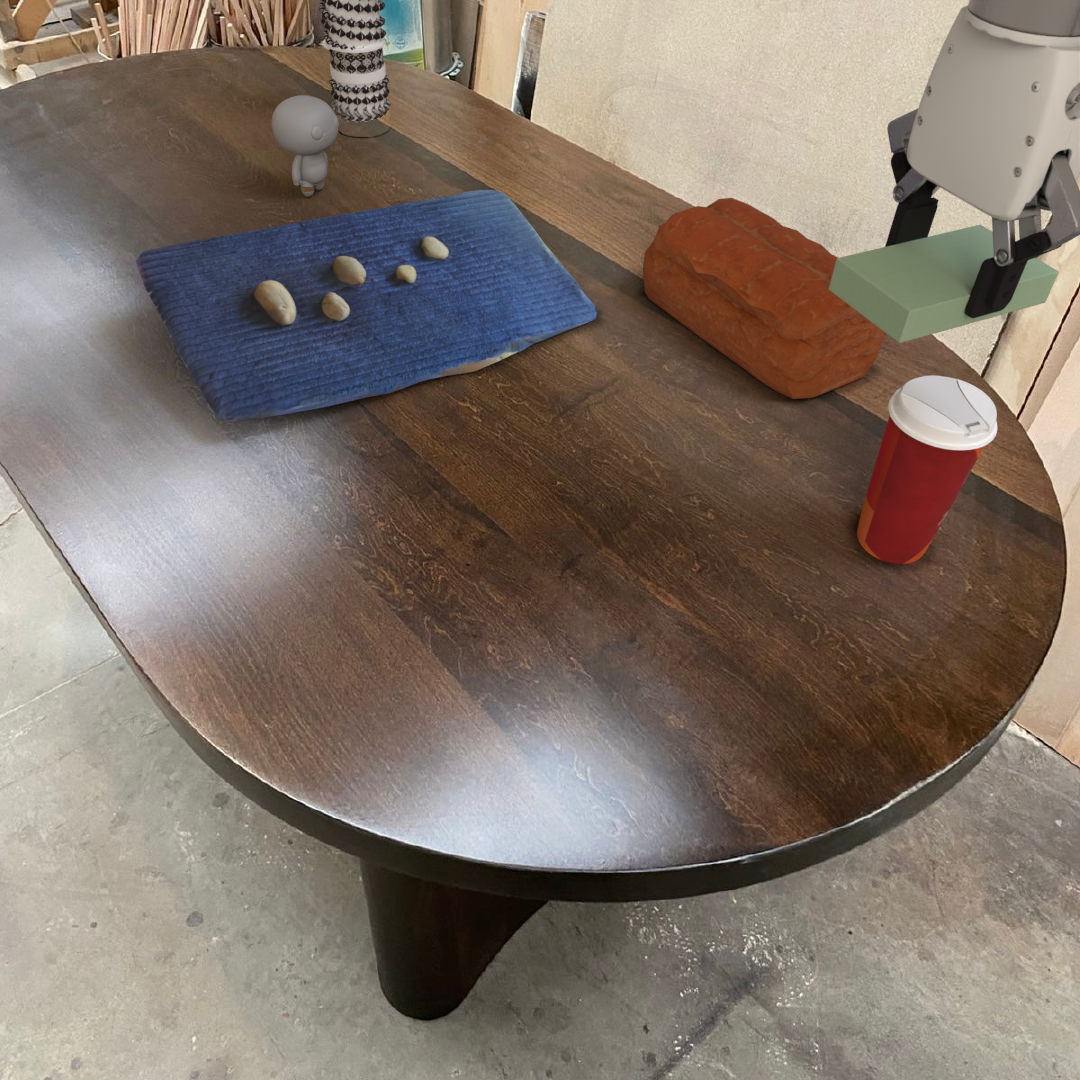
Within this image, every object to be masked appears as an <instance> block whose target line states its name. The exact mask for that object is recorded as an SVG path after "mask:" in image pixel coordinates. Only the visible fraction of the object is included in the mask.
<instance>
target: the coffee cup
mask: <svg viewBox="0 0 1080 1080" xmlns="http://www.w3.org/2000/svg"><path fill="white" fill-rule="evenodd" d="M887 409H888V414H889V416H888V419H887V423H886V426H885V430H884V433H883V437H882V439H881V440H882V441H881V443H880V447H879V450H878V453H877V457H876V460H875V464H874V467H873V471H872V473H871V478H870V481H869V485H868V489H867V492H866V495H865V499H864V502H863V506H862V509H861V514H860V517H859V521H858V525H857V528H856V529H857V530H856V537H857V540H858V543H859V544H860V546H861V547H862V548H863V549H864V551H865V552H867V553H868V554H869V555H871V556H872V557H873V558H876V559H878V560H879V561H882V562H885V563H888V564H895V565H906V564H907V565H909V564H912V563H915V562H918V561H919V560H920V559H921V558H922V557H923V556H924V555H925V553H926V551H927V550H928V548H929V547H930V546H931V543H932V542H933V540H934V538H935V536H936V534H937V533H938V531H939V529H940V528H941V526H942V524H943V522H944V521H945V518H946V517H947V515H948V513H949V511H950V510H951V508H952V506H953V504H954V503H955V501H956V499H957V497H958V495H959V494H960V491H961V490H962V488H963V486H964V484H965V483H966V481H967V479H968V477H969V475H970V473H971V472H972V470H973V468H974V466H975V464H976V463H977V461H978V459H979V458H980V455H981V454H982V452H983V450H984V449H985V446H987V445H989V444H990V443H991V442H993V441H994V439H995V437H996V436H997V433H998V422H997V417H998V411H997V408H996V404H995V403H994V401H993V400H992V399H991V397H990V396H989V395H988V394H987V393H986V392H984V391H983V390H981V389H980V388H978V387H977V386H975V385H973V384H971V383H969V382H967V381H964V380H962V379H959V378H954V377H949V376H943V375H934V374H933V375H923V376H919V377H915V378H913V379H911V380H909V381H907V382H905V383H904V384H903V385H902V386H901V387H900V388H897V389H896V390H895V391H894V393H893V394H892V395H891V397H890V398H889V401H888V406H887Z"/></svg>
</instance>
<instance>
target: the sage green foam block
mask: <svg viewBox="0 0 1080 1080" xmlns="http://www.w3.org/2000/svg"><path fill="white" fill-rule="evenodd" d="M992 257H994V249H993V230H991V229H989V228H987V227H986V226H983V225H982V224H977V225H972V226H969V227H968V226H967V227H964V228H959V229H955V230H952V231H951V230H950V231H947V232H942V233H939V234H935V235H928V237H926V238H921V239H917V240H913V241H909V242H904V243H900V244H896V245H891V246H887V247H885V246H884V247H879V248H875V249H874V248H873V249H870V250H866V251H862V252H861V251H860V252H857V253H853V254H849V255H845V256H839V257H838V258H837V260H836V263H835V267H834V271H833V275H832V278H831V282H830V286H829V290H830V291H831V292H833V293H834V294H835V295H837V296H838V297H839V298H841V299H842V300H843V301H844V302H846V303H847V304H848V305H850V306H851V307H852V308H854V309H855V310H856V311H858V312H859V313H860V314H861V315H863V316H864V317H865V318H867V319H868V320H869V321H871V322H872V323H873V324H875V325H876V326H877V327H879V328H880V329H881V330H882V331H884V332H885V335H887V336H889V337H890V338H892V339H893V340H894V341H896V342H897V343H898V344H902V343H906V342H909V341H912V340H917V339H920V338H924V337H927V336H931V335H935V334H937V333H938V334H939V333H941V332H944V331H945V332H946V331H948V330H952V329H956V328H959V327H964V326H967V325H970V324H974V323H978V322H982V321H984V320H988V319H992V318H996V317H998V316H1002V315H1006V314H1010V313H1014V312H1017V311H1021V310H1024V309H1027V308H1031V307H1035V306H1038V305H1042V304H1045V303H1046V302H1047V300H1048V298H1049V296H1050V293H1051V291H1052V288H1053V287H1054V284H1055V282H1056V280H1057V277H1058V275H1059V274H1060V272H1059V270H1057V269H1055V268H1054V267H1052V266H1051V265H1049V264H1047V263H1046V262H1044V261H1042V260H1041V259H1039V258H1038V257H1037V258H1034V259H1030V260H1028V261H1027V264H1026V266H1025V268H1024V271H1023V273H1022V276H1021V278H1020V280H1019V283H1018V285H1017V288H1016V290H1015V292H1014V295H1013V297H1012V299H1011V301H1010V302H1009V304H1008V305H1007V306H1006V307H1005V308H1004V309H1003V310H1001V311H998V312H994V313H991V314H987V315H984V316H980V317H976V318H970V317H969V316H968V315H966V314H965V309H966V306H967V303H968V301H969V298H970V293H971V291H972V288H973V286H974V283H975V280H976V278H977V275H978V272H979V270H980V267H981V265H982V263H983V261H984V260H986V259H988V258H992Z"/></svg>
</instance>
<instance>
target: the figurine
mask: <svg viewBox="0 0 1080 1080" xmlns="http://www.w3.org/2000/svg"><path fill="white" fill-rule="evenodd" d="M334 112H335V111H334V110H333V108H332V106H330V105H329V104H328V103H327V102H326V101H324V100H322V99H321V98H318V97H316V96H313V95H312V96H311V95H305V94H302V95H301V94H300V95H295V96H291V97H288V98H286V99H284V100H283V101H281V102H280V103H279V104H278V105H277V106H276V107H275V109H274V110H273V113H272V115H271V130H272V134H273V137H274V139H275V142H276V143H277V144H278V146H280V147H281V149H283V150H284V151H286V152H287V153H291V154H295V157H294V159H293V161H292V165H291V180H292V182H293V185H294V186H296V187H300V185H301V186H303V187H312V186H313V185H314V184H319V183H321V182H323V181H324V180H325V181H326V178H327V176H328V168H329V157H328V155H327V153H326V152H325V151H327V150H328V149H330V148H331V146H333V145H334V144H335V142H336V140H337V138H338V133H339V132H338V126H339V121H338V118H337V116H336V115H335V113H334ZM325 183H326V182H325ZM325 183H324V184H322V185H314V190H313V191H311V192H303V191H301V193H302V195H303V196H304V197H305V198H310V197H312V196H313V195H314V192H315V190H316V191H321V190H322V189H324V187H325Z"/></svg>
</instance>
